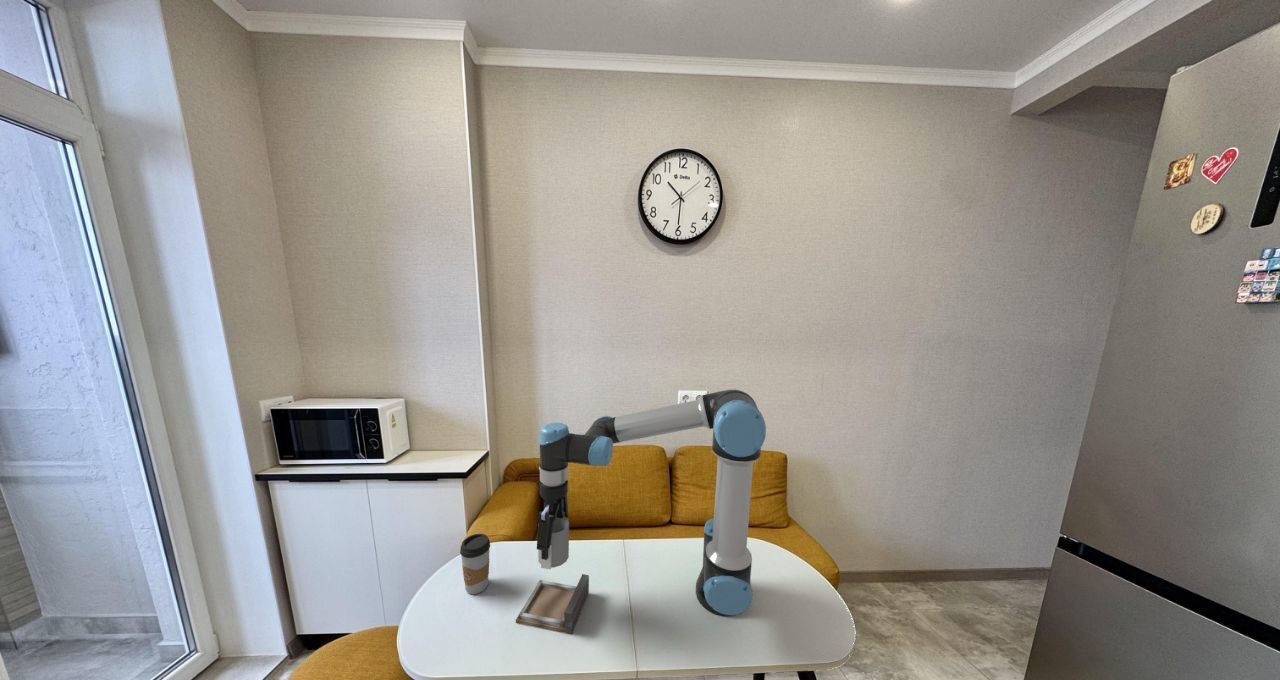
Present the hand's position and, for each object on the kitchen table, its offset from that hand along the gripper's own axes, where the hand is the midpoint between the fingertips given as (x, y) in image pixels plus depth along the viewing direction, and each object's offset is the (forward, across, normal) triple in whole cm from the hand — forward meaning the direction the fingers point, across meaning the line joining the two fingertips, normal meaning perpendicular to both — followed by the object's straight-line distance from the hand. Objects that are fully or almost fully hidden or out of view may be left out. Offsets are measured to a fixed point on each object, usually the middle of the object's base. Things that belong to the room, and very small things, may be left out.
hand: (553, 556), depth 106 cm
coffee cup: (+17, -2, -26) cm, 31 cm away
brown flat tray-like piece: (+16, 0, 0) cm, 16 cm away
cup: (0, 0, 0) cm, 0 cm away
